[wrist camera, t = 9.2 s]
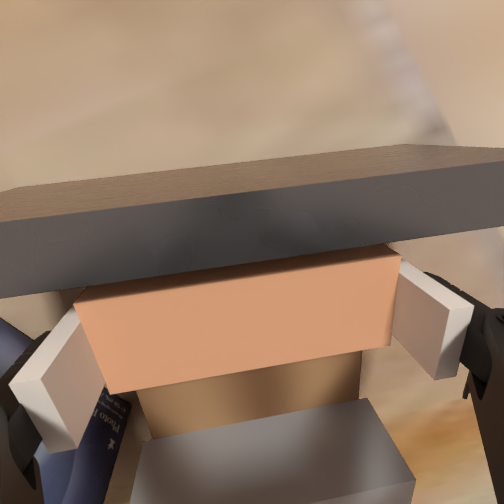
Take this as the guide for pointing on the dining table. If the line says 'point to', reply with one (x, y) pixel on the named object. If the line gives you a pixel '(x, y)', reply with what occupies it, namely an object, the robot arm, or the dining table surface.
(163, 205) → the bar
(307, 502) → the slab
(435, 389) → the dining table surface
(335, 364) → the bed
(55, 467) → the small box
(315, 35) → the dining table surface
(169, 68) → the dining table surface
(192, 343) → the block
